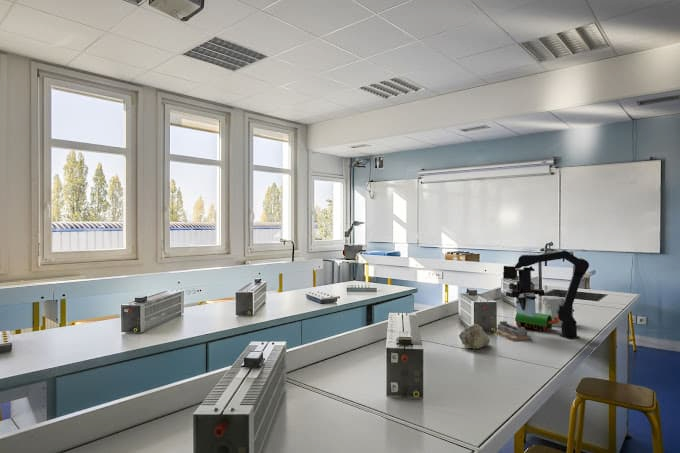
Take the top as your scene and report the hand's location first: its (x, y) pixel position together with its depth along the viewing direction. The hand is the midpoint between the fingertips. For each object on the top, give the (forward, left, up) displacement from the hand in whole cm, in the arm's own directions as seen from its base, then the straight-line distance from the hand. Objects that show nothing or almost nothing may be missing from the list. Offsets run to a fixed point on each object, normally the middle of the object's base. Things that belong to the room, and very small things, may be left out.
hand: (525, 309), depth 207 cm
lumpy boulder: (-12, +36, -13) cm, 40 cm away
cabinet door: (0, 0, -2) cm, 2 cm away
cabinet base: (+1, +9, -12) cm, 15 cm away
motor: (+15, -6, -8) cm, 18 cm away
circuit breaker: (+12, -30, -13) cm, 34 cm away
